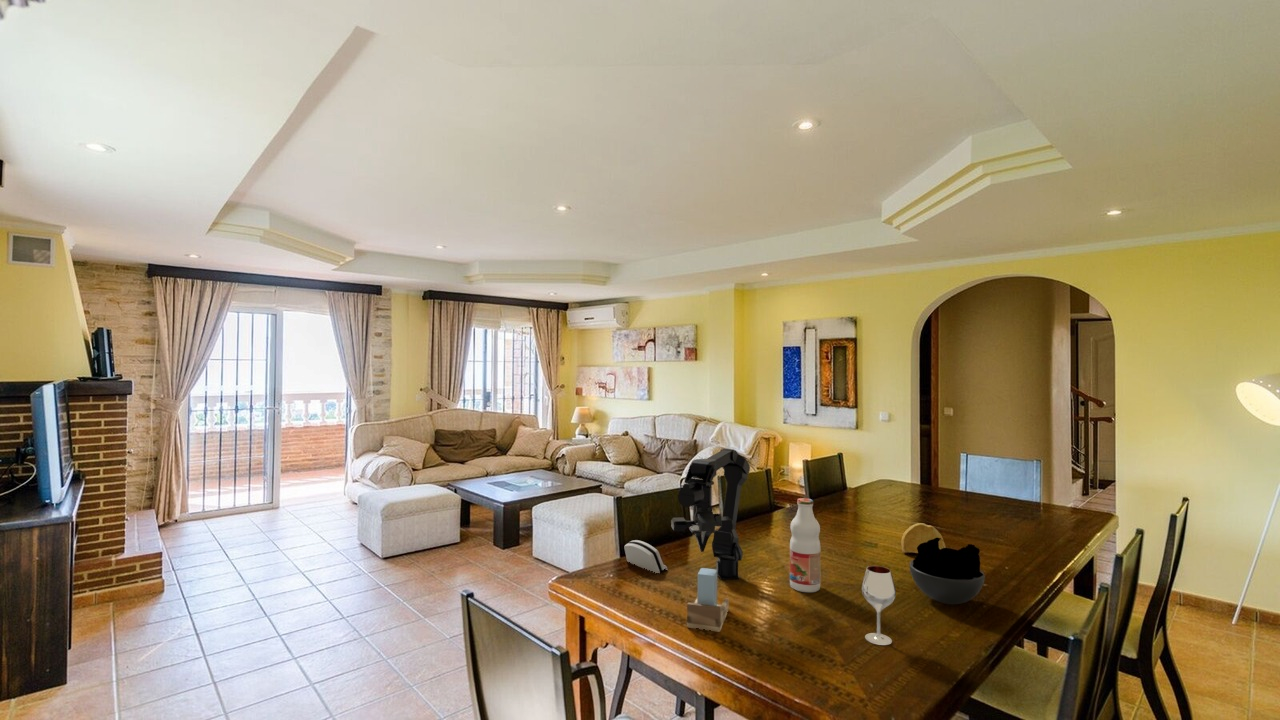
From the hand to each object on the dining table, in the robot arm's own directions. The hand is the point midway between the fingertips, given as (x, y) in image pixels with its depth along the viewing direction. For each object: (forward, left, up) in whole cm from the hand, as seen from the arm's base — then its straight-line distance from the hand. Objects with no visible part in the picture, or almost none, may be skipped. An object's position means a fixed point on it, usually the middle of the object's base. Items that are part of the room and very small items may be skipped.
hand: (702, 551), depth 179 cm
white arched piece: (+15, -26, -13) cm, 33 cm away
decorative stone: (-93, -31, -13) cm, 99 cm away
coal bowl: (-72, +13, -13) cm, 74 cm away
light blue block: (+3, +20, -12) cm, 23 cm away
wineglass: (-39, +34, -13) cm, 53 cm away
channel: (+2, +17, -13) cm, 22 cm away
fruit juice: (-34, -2, -13) cm, 37 cm away
